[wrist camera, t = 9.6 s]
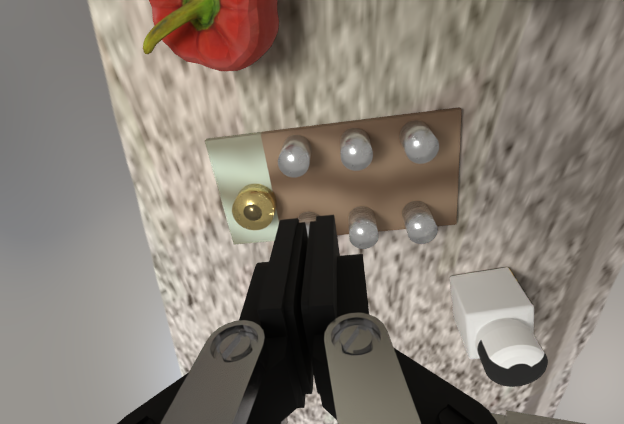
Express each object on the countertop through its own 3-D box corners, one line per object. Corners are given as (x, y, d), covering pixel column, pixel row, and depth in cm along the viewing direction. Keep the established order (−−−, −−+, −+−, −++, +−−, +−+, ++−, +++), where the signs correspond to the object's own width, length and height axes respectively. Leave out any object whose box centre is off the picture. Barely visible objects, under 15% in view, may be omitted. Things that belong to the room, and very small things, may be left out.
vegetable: (219, 87, 38) (185, 112, 29) (146, -14, 34) (81, -20, 26) (311, 20, 35) (303, 26, 26) (241, -100, 31) (205, -140, 22)
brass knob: (230, 189, 43) (224, 200, 41) (267, 178, 42) (264, 188, 40) (246, 223, 45) (241, 234, 42) (282, 213, 44) (279, 224, 42)
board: (206, 138, 41) (204, 141, 40) (459, 107, 38) (461, 109, 37) (235, 240, 47) (233, 244, 46) (454, 220, 44) (456, 224, 43)
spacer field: (280, 136, 39) (275, 149, 36) (429, 118, 38) (439, 130, 34) (298, 235, 45) (295, 254, 42) (429, 223, 43) (437, 242, 40)
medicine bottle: (509, 309, 50) (555, 391, 39) (452, 317, 51) (483, 398, 41) (508, 265, 47) (559, 342, 36) (448, 275, 48) (480, 352, 37)
